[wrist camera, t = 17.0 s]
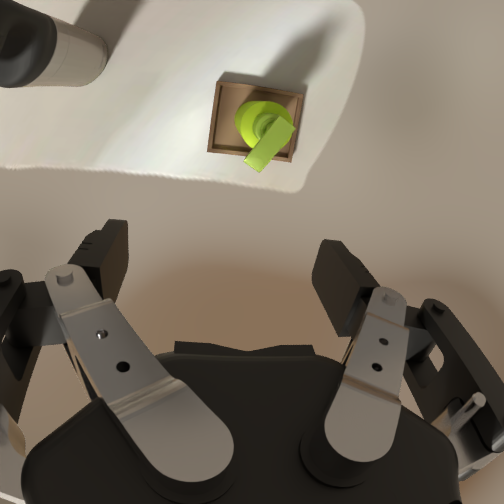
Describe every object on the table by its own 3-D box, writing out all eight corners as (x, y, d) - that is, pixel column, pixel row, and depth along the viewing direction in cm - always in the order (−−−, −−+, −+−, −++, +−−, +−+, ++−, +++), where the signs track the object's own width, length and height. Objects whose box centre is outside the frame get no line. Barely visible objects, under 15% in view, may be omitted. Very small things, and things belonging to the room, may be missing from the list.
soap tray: (207, 149, 46) (207, 151, 44) (216, 81, 41) (216, 80, 39) (288, 160, 48) (291, 162, 46) (300, 94, 43) (303, 94, 41)
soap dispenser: (222, 129, 43) (225, 150, 26) (250, 93, 41) (273, 88, 24) (253, 150, 45) (277, 186, 28) (281, 116, 43) (323, 129, 26)
